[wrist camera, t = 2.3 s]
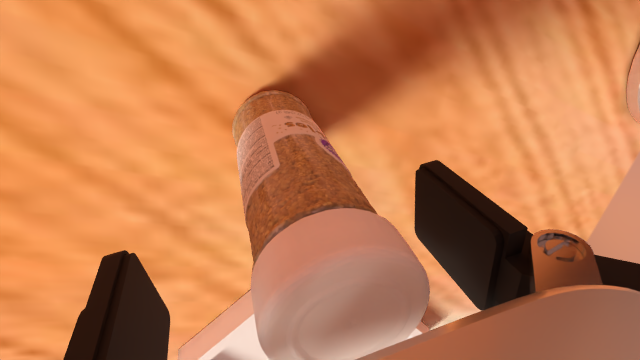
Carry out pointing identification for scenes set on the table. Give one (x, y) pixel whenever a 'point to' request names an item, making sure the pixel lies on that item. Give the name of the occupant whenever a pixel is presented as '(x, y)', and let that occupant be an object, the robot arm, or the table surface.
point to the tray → (236, 336)
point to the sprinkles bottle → (318, 243)
